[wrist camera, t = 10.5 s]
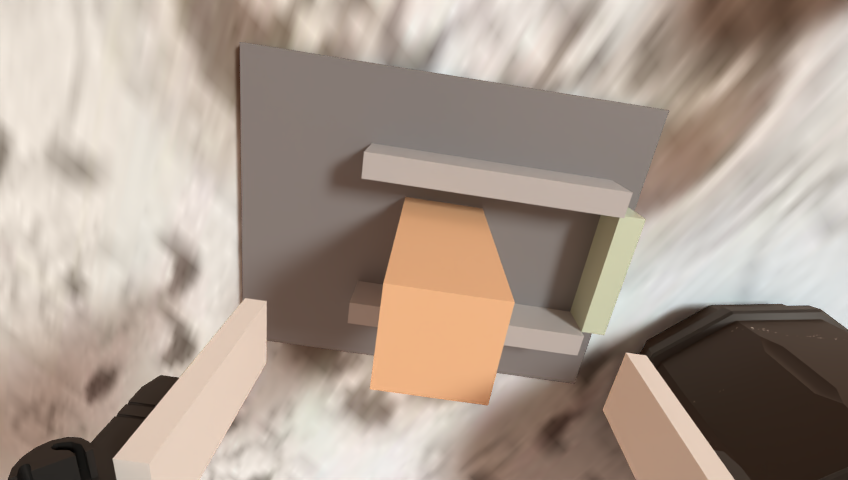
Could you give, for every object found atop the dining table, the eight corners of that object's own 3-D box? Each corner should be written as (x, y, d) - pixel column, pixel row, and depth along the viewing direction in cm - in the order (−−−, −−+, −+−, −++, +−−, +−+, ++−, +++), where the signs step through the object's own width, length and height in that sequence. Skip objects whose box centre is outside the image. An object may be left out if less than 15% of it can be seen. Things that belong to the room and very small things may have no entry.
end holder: (244, 42, 24) (213, 37, 21) (664, 109, 25) (699, 114, 22) (246, 332, 32) (224, 362, 28) (571, 378, 32) (587, 413, 29)
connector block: (405, 196, 27) (383, 283, 16) (482, 208, 27) (514, 302, 16) (395, 267, 29) (370, 389, 18) (468, 277, 29) (488, 405, 18)
